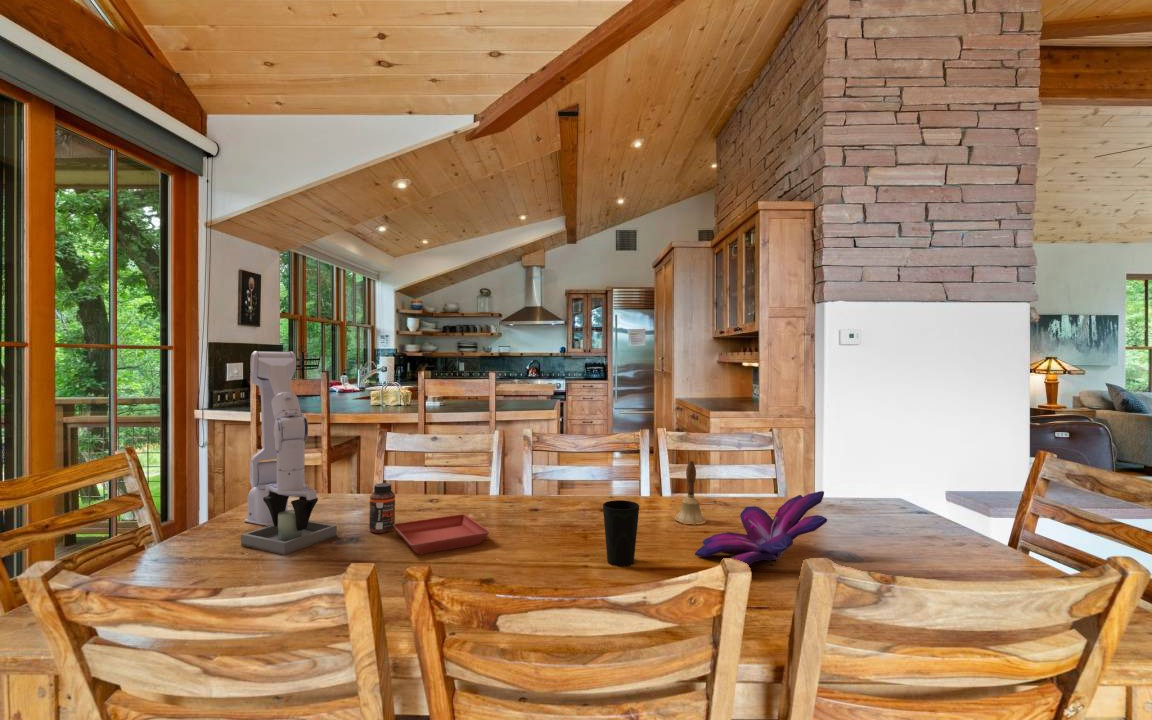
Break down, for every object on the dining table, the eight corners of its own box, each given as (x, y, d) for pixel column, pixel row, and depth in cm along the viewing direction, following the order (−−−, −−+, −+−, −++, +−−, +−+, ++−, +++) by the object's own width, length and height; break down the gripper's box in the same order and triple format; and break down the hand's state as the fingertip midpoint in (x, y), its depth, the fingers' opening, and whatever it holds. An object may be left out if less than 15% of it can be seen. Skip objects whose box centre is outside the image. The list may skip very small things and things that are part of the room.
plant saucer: (392, 536, 132) (392, 523, 132) (464, 525, 141) (464, 512, 141) (411, 560, 116) (411, 544, 116) (490, 546, 125) (490, 531, 125)
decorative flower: (728, 620, 101) (705, 569, 102) (699, 569, 131) (681, 530, 132) (881, 550, 101) (855, 500, 101) (816, 516, 131) (797, 478, 132)
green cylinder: (273, 540, 126) (273, 514, 126) (292, 533, 130) (292, 508, 130) (288, 543, 124) (288, 516, 124) (307, 536, 128) (307, 511, 128)
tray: (241, 545, 123) (241, 534, 123) (295, 528, 136) (295, 518, 136) (284, 554, 118) (284, 543, 118) (336, 536, 131) (336, 525, 131)
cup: (600, 555, 119) (600, 500, 119) (635, 554, 119) (635, 499, 119) (605, 569, 111) (605, 510, 111) (642, 568, 112) (642, 509, 112)
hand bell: (713, 522, 144) (713, 461, 144) (690, 527, 140) (691, 464, 140) (689, 514, 151) (690, 457, 151) (667, 519, 146) (668, 459, 146)
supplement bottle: (384, 535, 131) (384, 488, 131) (363, 532, 133) (364, 486, 133) (399, 528, 137) (400, 483, 137) (380, 525, 139) (380, 481, 139)
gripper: (327, 468, 128) (327, 526, 128) (284, 463, 134) (283, 518, 134) (301, 473, 121) (301, 535, 121) (257, 468, 127) (256, 526, 127)
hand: (290, 527), depth 127 cm, fingers open, 7 cm apart
